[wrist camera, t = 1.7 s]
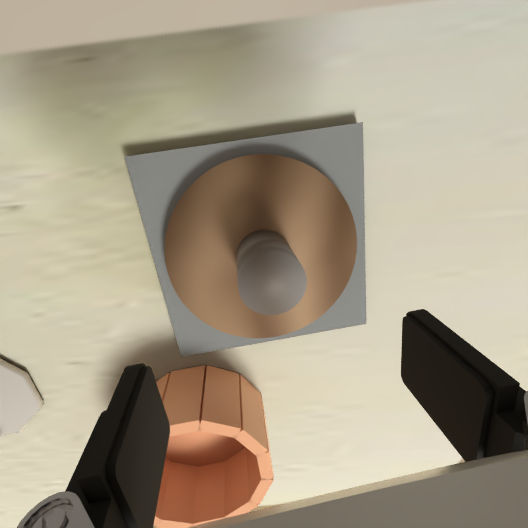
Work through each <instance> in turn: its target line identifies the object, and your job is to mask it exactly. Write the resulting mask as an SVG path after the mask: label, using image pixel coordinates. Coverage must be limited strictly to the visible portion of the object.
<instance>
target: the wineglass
mask: <svg viewBox="0 0 528 528" xmlns="http://www.w3.org/2000/svg"><path fill="white" fill-rule="evenodd" d="M43 405H44V402H43V400H42V399H41V397H40V395H39V393H38V391H37V389H36V388H35V386H34V384H33V382H32V380H31V378H30V376H29V375H28V373H27V372H25V371H23V370H22V369H20V368H18V367H16V366H14V365H12V364H10V363H8V362H7V361H5V360H3V359H1V358H0V437H1V436H6V435H11V434H16V433H19V432H20V431H21V430H22V429H23V428H24V427H25V426H26V425H27V424H28V422H29V421H30V420H31V419H32V418H33V417H34V416H35V415H36V414H37V412H38V411H39V410H40V409H41V408H42V407H43Z"/></svg>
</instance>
